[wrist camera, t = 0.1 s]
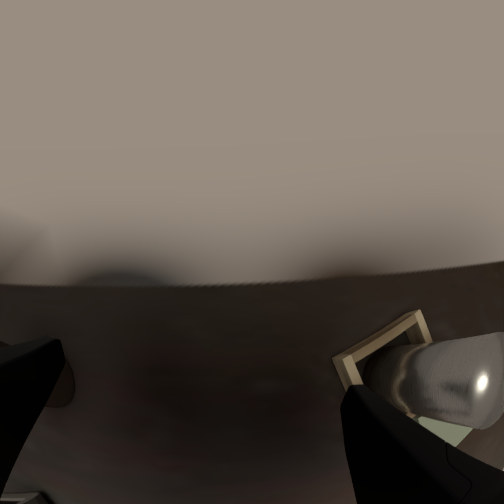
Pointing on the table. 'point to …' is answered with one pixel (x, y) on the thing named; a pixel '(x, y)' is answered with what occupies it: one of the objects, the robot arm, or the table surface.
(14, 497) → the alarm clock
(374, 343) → the wooden square frame
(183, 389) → the table surface
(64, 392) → the beer glass
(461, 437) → the green pad
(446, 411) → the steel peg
